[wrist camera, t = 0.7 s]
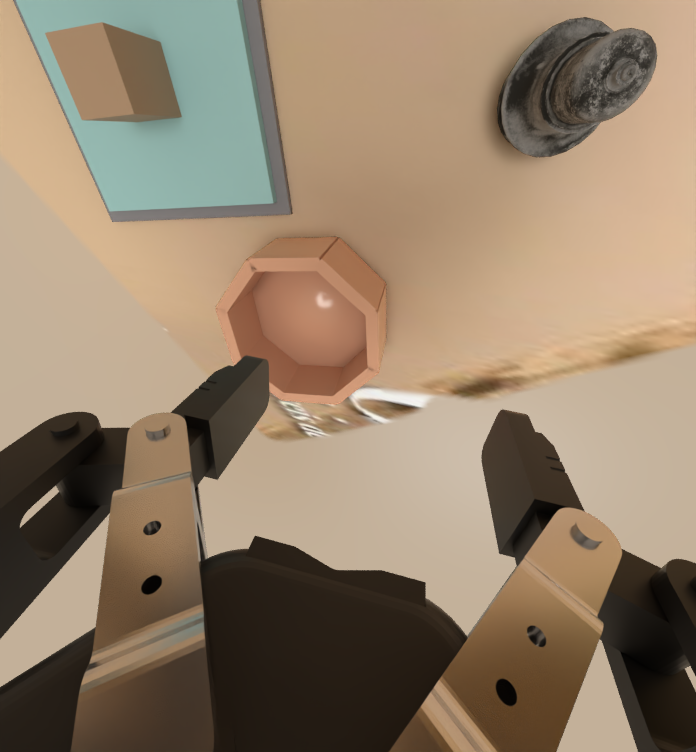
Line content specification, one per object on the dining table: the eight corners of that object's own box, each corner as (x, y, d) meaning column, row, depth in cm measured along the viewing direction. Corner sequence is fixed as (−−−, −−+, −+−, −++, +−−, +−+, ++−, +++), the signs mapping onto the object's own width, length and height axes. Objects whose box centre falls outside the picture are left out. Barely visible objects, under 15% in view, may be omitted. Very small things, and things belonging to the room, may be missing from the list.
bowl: (234, 239, 31) (199, 259, 26) (386, 235, 28) (376, 256, 23) (267, 365, 39) (244, 397, 34) (386, 371, 36) (379, 408, 31)
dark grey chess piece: (599, 126, 21) (734, 120, 12) (502, 170, 24) (550, 195, 14) (592, 8, 19) (761, -123, 9) (483, 71, 21) (526, 20, 11)
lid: (-2, -63, 21) (-120, -117, 17) (220, -124, 18) (149, -211, 14) (116, 209, 31) (61, 223, 26) (277, 201, 27) (246, 215, 23)
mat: (-17, -81, 21) (-25, -85, 21) (236, -154, 18) (231, -160, 17) (116, 220, 32) (112, 221, 31) (292, 213, 28) (290, 214, 28)
